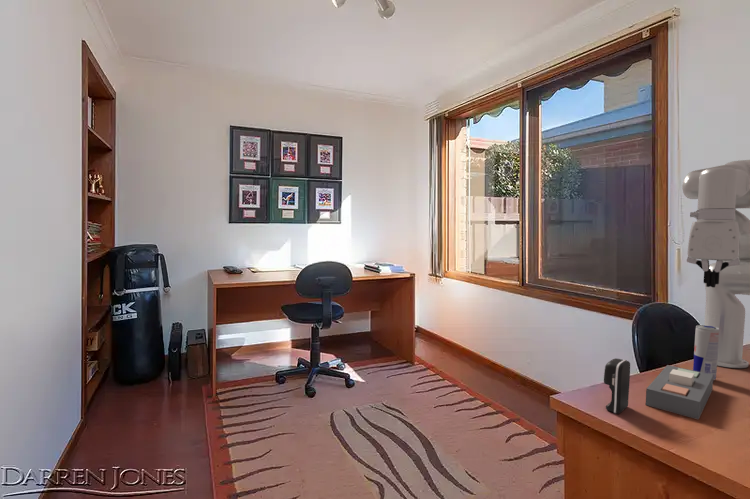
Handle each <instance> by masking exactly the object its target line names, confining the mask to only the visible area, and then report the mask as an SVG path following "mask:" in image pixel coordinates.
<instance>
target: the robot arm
mask: <svg viewBox="0 0 750 499" xmlns="http://www.w3.org/2000/svg"><path fill="white" fill-rule="evenodd" d="M681 186H682V187H681V188H682V193H683V195H684V196H685V198H687V199H690V200H697V209H696V211H691V212H690V213H689V217H690V218H695V219H696V221H692V224H691V227H690V232H689V238H688V242H687V243H688V245H687V259H686V262H687V263H689V264H693V265H697V266H698V267H699V268H700V269H701V270H702V271H703V284H704V287H705V313H704V325H706V326H713V327H717V328H719V343H718V358H717V367H723V368H730V369H731V368H732V369H747V368H748V367H749V365H750V363H749V361H747V360H746V359H744V358H743V352H744V350H743V349H744V348H743V347H744V336H745V325H746V324H745V322H746V308H745V306H744V304H743V302H742V301H741V300H740V299H738V297H737V295H741V296H742V295H743V296H744V295H745V296H750V219H749V217H747V216H746V215H745V214H743V213H742V212H741V211H739V210H737V209H750V159H744V160H743V159H742V160H740V159H739V160H734V161H729V162H726V163H725V164H721V165H716V166H712V167H708V168H707V167H706V168H701V169H696V170H692V171H689V173H687V175H686V176H685V177H684V178H683V181H682V185H681ZM710 261H716V262H713V263H711V264H710Z"/></svg>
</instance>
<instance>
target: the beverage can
mask: <svg viewBox="0 0 750 499" xmlns="http://www.w3.org/2000/svg"><path fill="white" fill-rule="evenodd" d="M718 343H719V328H717V327H713V326H706V325H705V324H702V325H701V324H697V325H696V326H695V334H694V346H693V348H694V351H693V366H692V370H693V371H698V372H703V373H708V374H713V381H715V380H716V379H717V369H718V366H717V358H718Z"/></svg>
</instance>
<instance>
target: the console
mask: <svg viewBox="0 0 750 499" xmlns="http://www.w3.org/2000/svg"><path fill="white" fill-rule="evenodd" d="M678 368H681V369H686V370H690V371H693V369H688V368H682V367H680V366H679V367H678V366H673V365H669V364H667V365H666V366H665V367H663V369H662V370H661V372H660V373H659V374H658V375H657V376H655V378H654V379H653V381H652V382H651V383H649V385H648V386H647V387H646V390H645V391H646V393H645V406H648V407H652V408H654V409H659V410H662V411H667V412H670V413H674V414H677V415H680V416H684V417H688V418H692V419H695V420H698V421H699V419H700V418H701V415H702V413H703V411H704V410H705V407H706V404H707V402H708V400H709V397H710V396H711V394H712V392H713V387H714V385H713V384H714V380H713V374H708V373H703V372H699V377H698V378H694V385H693V387H690V386H686V385H682V384H678V383H673V382H669V374H670V372H671V371H672V370H673V369H675V370H677V369H678ZM695 372H698V371H695ZM665 384H670V385H674V386H678V387H682V388H687V389H689V392H688V395H687V396H683V395H679V394H675V393H671V392H667V391H662V388H663V387H664V386H665Z"/></svg>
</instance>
